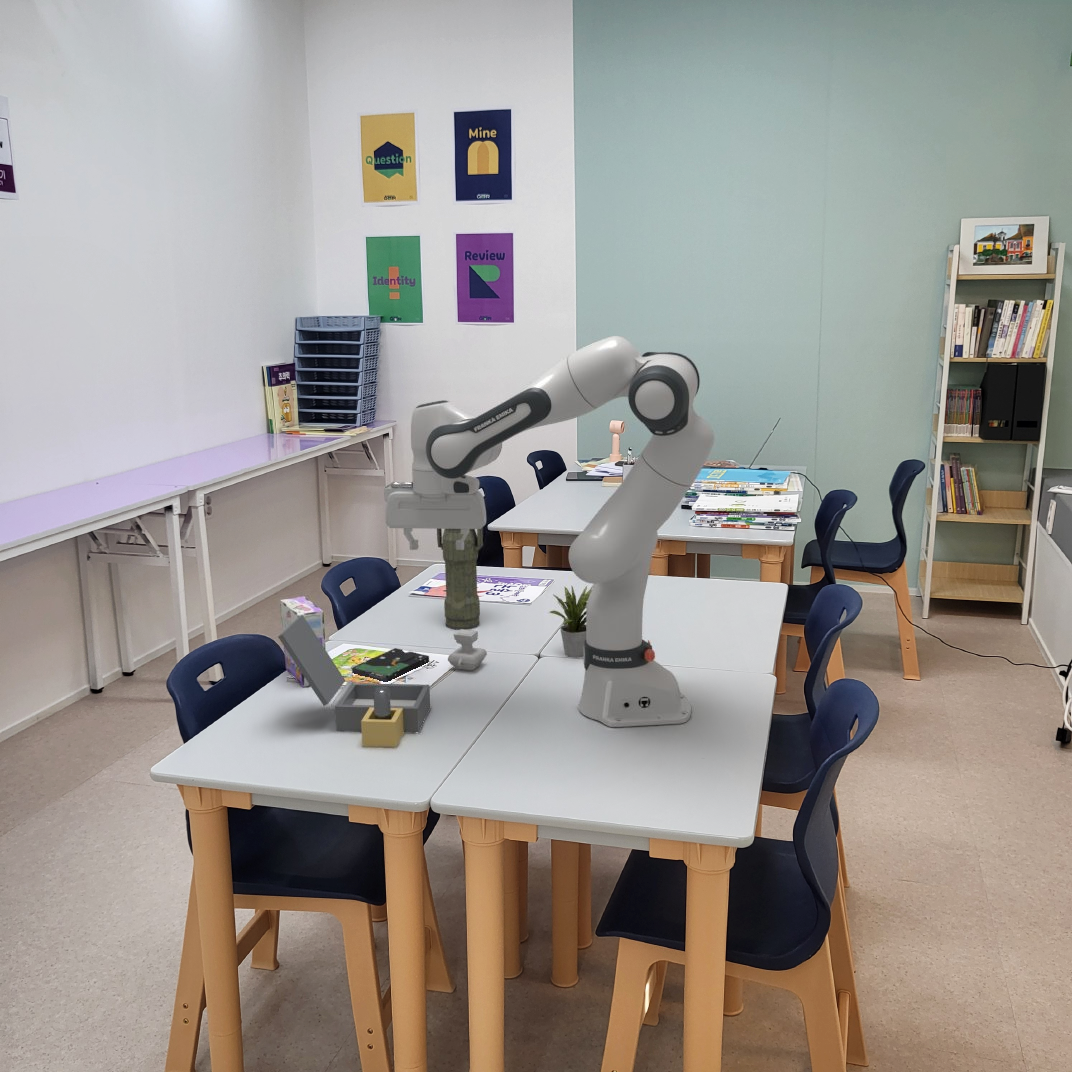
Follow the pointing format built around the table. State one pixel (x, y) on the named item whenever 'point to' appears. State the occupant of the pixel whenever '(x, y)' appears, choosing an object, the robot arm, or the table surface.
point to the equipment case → (361, 698)
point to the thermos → (461, 578)
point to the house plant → (573, 623)
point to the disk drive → (390, 665)
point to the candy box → (314, 618)
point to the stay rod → (382, 703)
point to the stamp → (467, 651)
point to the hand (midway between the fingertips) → (437, 549)
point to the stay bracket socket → (382, 729)
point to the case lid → (312, 659)
